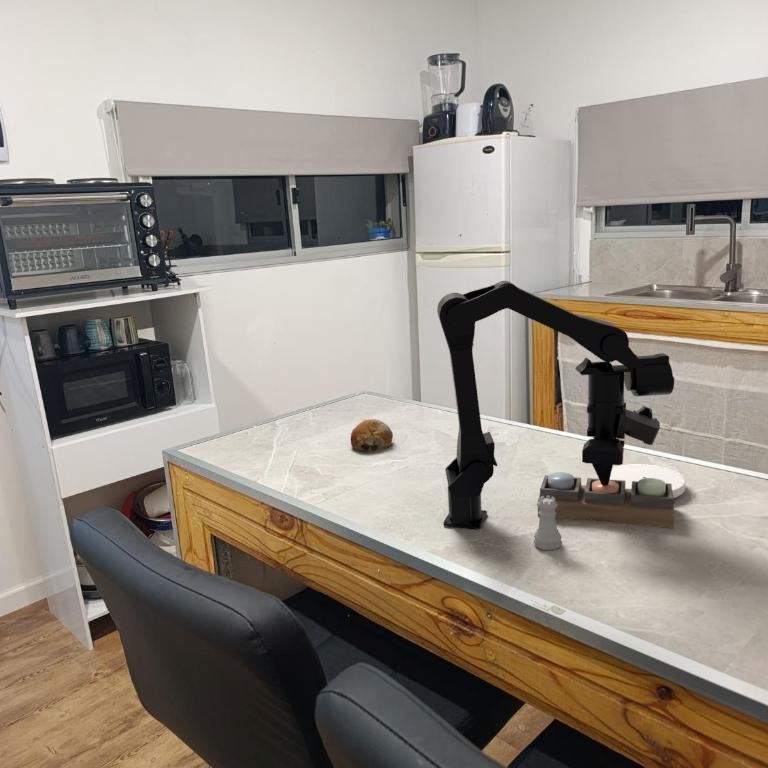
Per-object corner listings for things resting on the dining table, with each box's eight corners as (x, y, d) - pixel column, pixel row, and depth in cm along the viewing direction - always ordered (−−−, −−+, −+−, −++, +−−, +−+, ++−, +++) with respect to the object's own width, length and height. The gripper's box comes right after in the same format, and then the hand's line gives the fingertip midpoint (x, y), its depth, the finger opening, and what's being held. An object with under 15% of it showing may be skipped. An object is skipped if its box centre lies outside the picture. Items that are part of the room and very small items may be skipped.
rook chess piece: (556, 553, 110) (556, 506, 108) (529, 548, 113) (528, 502, 111) (565, 541, 114) (565, 495, 112) (539, 536, 116) (538, 491, 114)
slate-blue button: (572, 493, 122) (572, 482, 122) (546, 491, 124) (546, 480, 123) (574, 483, 126) (574, 473, 126) (549, 481, 128) (549, 471, 127)
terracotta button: (618, 501, 120) (618, 490, 119) (591, 499, 121) (591, 488, 121) (619, 491, 124) (619, 480, 123) (592, 489, 125) (593, 479, 125)
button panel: (673, 528, 116) (674, 501, 115) (537, 516, 123) (537, 490, 122) (672, 507, 123) (673, 482, 122) (544, 497, 131) (543, 473, 130)
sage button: (665, 500, 117) (666, 489, 116) (637, 498, 118) (637, 487, 118) (665, 489, 121) (665, 479, 120) (637, 488, 122) (638, 477, 122)
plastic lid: (666, 512, 122) (667, 499, 121) (591, 494, 131) (591, 481, 131) (696, 486, 132) (697, 473, 131) (624, 470, 141) (624, 459, 141)
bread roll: (398, 457, 167) (403, 424, 168) (375, 453, 158) (381, 418, 159) (363, 452, 172) (368, 420, 173) (339, 447, 164) (345, 413, 164)
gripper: (658, 416, 107) (655, 511, 111) (657, 384, 124) (654, 467, 128) (581, 413, 111) (581, 505, 115) (591, 383, 128) (590, 463, 131)
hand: (605, 484), depth 122 cm, fingers closed
